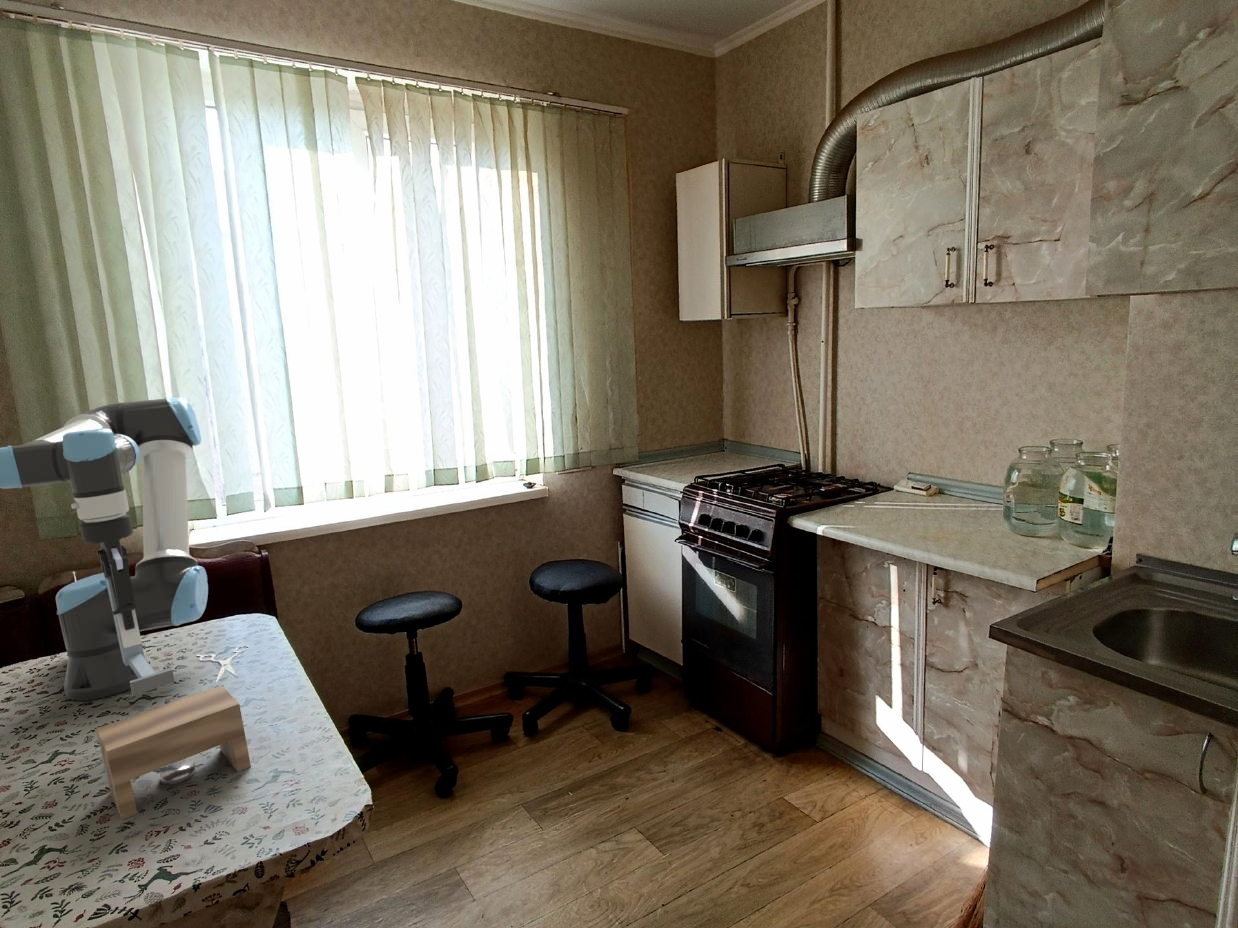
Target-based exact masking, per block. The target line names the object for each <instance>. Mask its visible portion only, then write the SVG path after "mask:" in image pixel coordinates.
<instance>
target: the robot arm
mask: <svg viewBox="0 0 1238 928" xmlns="http://www.w3.org/2000/svg"><path fill="white" fill-rule="evenodd" d="M201 436H202V435H201V431H200V426H199V424H198V421H197V417H196V414H195V412H194V409H193V406H191V404H190V402H189V401H188V400H187V399H186V398H185V397H164V398H158V399H157V398H156V399H148V400H138V401H127V402H115V403H110V404H106V405H102V406H101V405H100V406H98V407H96V408H93V409H90V410H88V411H85V412H83V413H82V412H81V413H80V414H78V415H75V416H73V417H71V418H70V419H68V420H67V421H66V422H65V423H64V425H63V426H62V427H61V428H58V429H56V430H54V431H52V432H49V433H47V434H45V435H43V436H41V437H38V438H36V439H34V440H32V441H29V442H26V443H24V444H19V445H7V446H5V447H0V489H4V490H6V489H22V488H27V487H34V486H41V485H49V484H56V483H57V484H58V483H66V482H67V483H68V482H70V485H71V490H72V495H73V500H74V501H75V502H73V503H71V504H70V507H71V509H74V510H76V513H77V517H78V519H79V520H81V522H80V524H79V529H80V530H79V531H80V533H81V538H82V541H83V543H85V544H87V545H88V544H89V545H90V544H91V545H93V544H94V545H95V544H99V547H100V548H98V549H97V550H96V554H97V558H98V559H99V562H100V566H101V570H102V572H100V573H97V574H92V575H89V576H87V577H84V578H81V579H78V580H76V582H75V581H74V582H71V583H69V584H67V585H65V586H64V587H62V588H61V589H60V590H59V591H58V592H57V593H56V595H55V603H56V608H57V609H56V615H58V616H57V617H58V620H59V624H60V628H61V629H60V630H61V633H62V636H63V641H64V645H65V649H66V650H65V651H66V652H67V666H66V671H65V679H64V682H63V688H64V689H63V690H64V694H65V697H67V698H69V699H72V700H71V701H73V700H77V701H76V702H83V701H84V700H85V701H93V700H98V699H102V698H107V697H110V696H115V695H117V694H119V693H123V692H125V691H129V690H131V686H130V681H132V680H135V679H138V677H137V675H136V674H135V673H134V671H133V670H132V668H131V667H130V665H128V666H126V665H125V664H124V662H123V659H122V654H121V650H120V645H119V640H118V635H117V631H116V626H115V621H114V616H113V615H116V614H117V619H118V624H119V628H120V633H121V638H122V643H123V647H124V648H127V647H131V646H134V645H138V644H141V642H142V638H140V637H141V633H139V632H142V631H148V630H149V631H151V630H154V629H160V628H166V627H167V628H168V627H171V626H175V627H176V626H177V627H178V626H181V625H182V624H187V623H190V622H195V621H197V620H199V619H200V618H201V617H202V616H203V614H204V612H205V610H206V608H207V602H208V595H209V584H208V575H207V572H206V569H205V567H203V566H200V565H198V560H197V559H196V558H195V557H193V556H192V555H190V541H189V540H190V539H189V514H188V512H189V510H188V491H187V490H188V488H187V487H188V486H187V460H189V459H190V458H191V457H192V456H193V453H194V452H193V449H194V448H193V447H194V446H195V447H197V446H198V445H200V444H202V443H201V442H202V437H201ZM139 461H141V462H142V463H141V464H142V465H141V467H142V469H141V470H142V474H141V475H142V479H141V481H142V519H143V520H142V525H143V526H142V527H143V529H142V531H143V534H142V537H143V557H142V559H141V560H140V561H139V562H137V563H136V565H135V575H134V576H131V575H130V568H129V562H128V561H129V559H128V550H127V548H126V547H124V545H121V542H120V540H122V539H125V538H128V537H129V536H131V535H133V533H134V529H133V523H132V518H131V517H132V516H131V515H129V514H128V512H129V511H130V507H129V501H128V495H127V491H126V488H125V484H124V479H123V475H125V474H126V473H128V472H129V471H132V469H133V468H134V467H135V466H136V465H137V463H138V462H139ZM106 577H110V580H111V585H112V589H113V594H114V598H115V602H116V607H117V609H116V611H112V607H111V602H110V597H109V592H108V588H107V583H106ZM137 622H138V623H137ZM138 627H139V628H138ZM145 660H146V661H147V662H148V663H149V661H148V659H147V658H146V657H145ZM67 698H66V699H67ZM69 699H68V700H69ZM79 700H80V701H79ZM85 701H84V702H85Z"/></svg>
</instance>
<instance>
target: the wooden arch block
mask: <svg viewBox="0 0 1238 928" xmlns="http://www.w3.org/2000/svg"><path fill="white" fill-rule="evenodd" d="M243 721H244V720H243V716H242V711H241V707H240V703H239V702H238V701H237V700H236V699H235V697H233V695H231V694H230V692H229V691H228V690H227V689H226V688H225V687H224V686H223V685H220V686H217V687H214V688H212V689H207V690H206V691H202V692H199V693H196V694H193V695H191V696H188V697H184V698H181V699H179V700H176V701H174V702H169V703H167V704H164V705H161V706H158V707H156V708H152V709H150V710H146V711H144V712H141V713H138V714H134V715H132V716H128V717H125V718H123V719H120V720H117V721H114V722H111V723H108V724H106V725H102V726H99V727H97V728H95V730H96V734H97V735H96V736H97V739H98V743H99V748H100V752H101V758H102V761H103V766H104V770H105V775H106V780H107V783H108V788H109V793H110V795H111V796H110V797H111V798H112V800H113V802H114V805H115V807H116V810H117V812H118V814H119V817H120V818H121V821H123V820H126V819H128V818H130V817H132V816H135V815H138V814H139V813H138V810H137V809H138V808H137V805H136V804H137V803H136V801H135V796H134V792H133V787H132V786H133V785H132V782H131V780H134V779H136V778H139V777H141V776H144V775H147V774H149V773H152V772H155V771H156V770H159V769H163V768H166V767H167V766H169V765H171V764H173V763H176V762H179V761H183V760H186V759H188V758H191V757H193V756H195V755H197V754H201V753H203V752H206V751H209V750H212V749H213V748H217V747H218V746H219V749H220V751H221V753H222V754H223V755H224V756H225V757H226V759H227V760H228V762H229V763H230V764H231V765H232V766H233V768H234V769H235V771H236V772H237V773H238V772H241V771H244V770H246V769H248V768H251V767H252V764H251V759H250V755H249V750H248V749H249V748H248V743H247V739H246V733H245V727H244V722H243Z"/></svg>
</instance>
